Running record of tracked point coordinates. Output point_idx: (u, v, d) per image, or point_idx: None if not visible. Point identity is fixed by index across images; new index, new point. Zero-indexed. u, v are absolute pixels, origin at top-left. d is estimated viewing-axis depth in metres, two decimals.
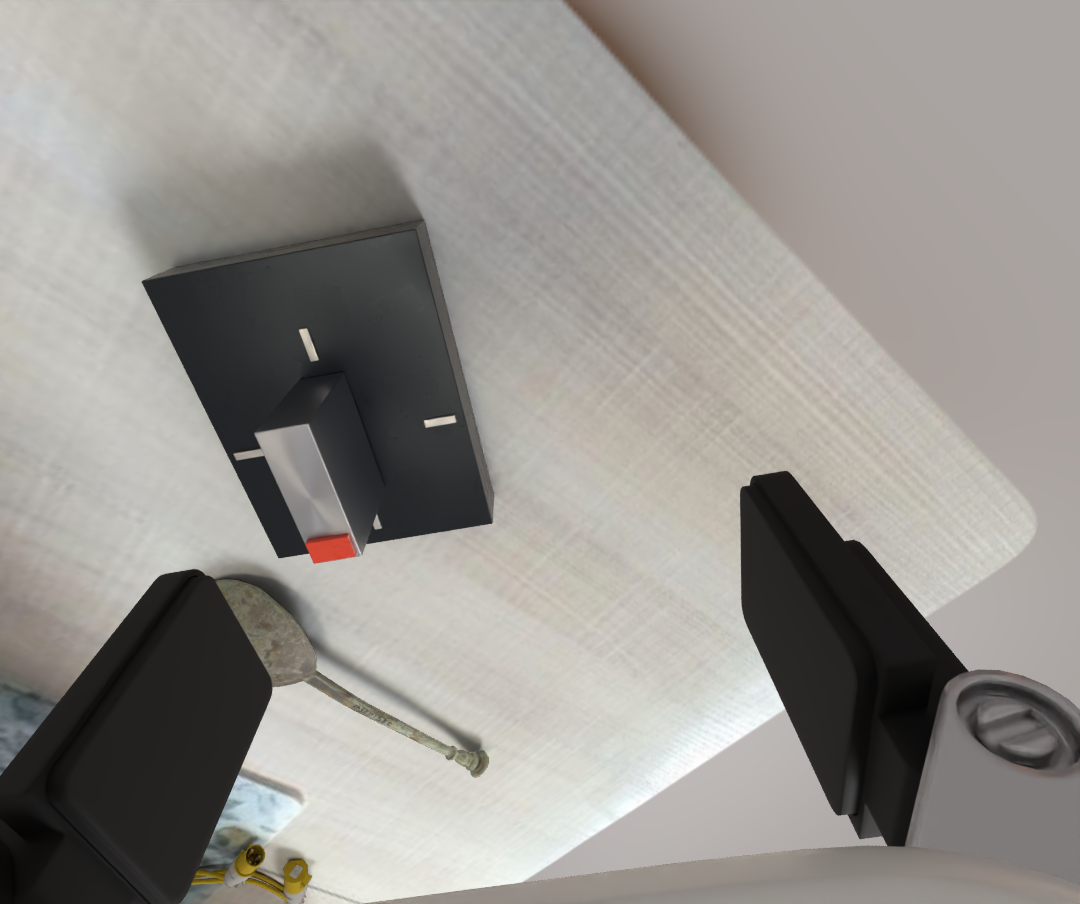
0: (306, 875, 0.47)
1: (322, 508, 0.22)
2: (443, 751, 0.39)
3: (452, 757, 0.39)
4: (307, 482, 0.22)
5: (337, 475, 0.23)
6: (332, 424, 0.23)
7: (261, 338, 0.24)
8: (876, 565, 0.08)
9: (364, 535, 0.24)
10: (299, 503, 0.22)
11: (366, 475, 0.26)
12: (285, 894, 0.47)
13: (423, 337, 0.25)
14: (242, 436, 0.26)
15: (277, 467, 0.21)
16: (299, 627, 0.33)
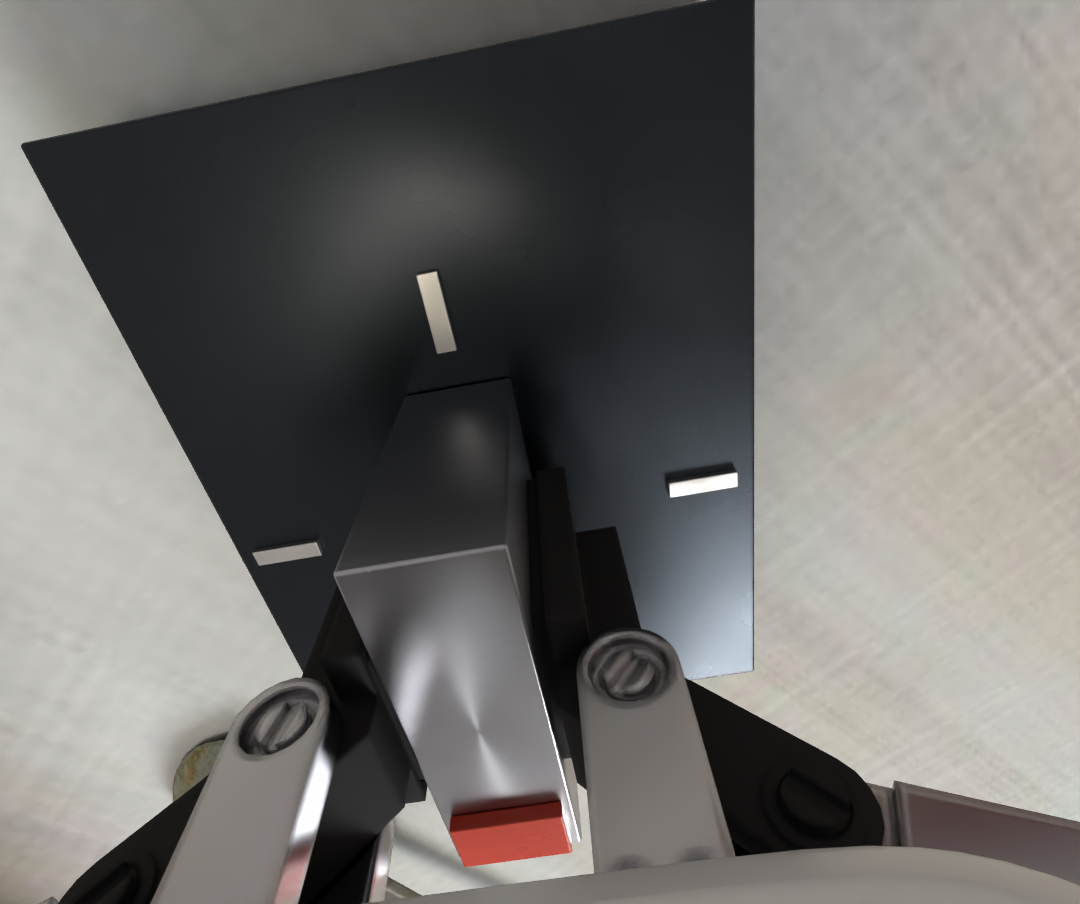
0: None
1: (504, 752, 0.08)
2: None
3: None
4: (474, 694, 0.08)
5: None
6: (522, 517, 0.09)
7: (324, 299, 0.10)
8: (620, 547, 0.10)
9: (574, 773, 0.10)
10: (444, 742, 0.08)
11: None
12: None
13: (707, 296, 0.10)
14: (271, 517, 0.12)
15: (395, 662, 0.07)
16: None
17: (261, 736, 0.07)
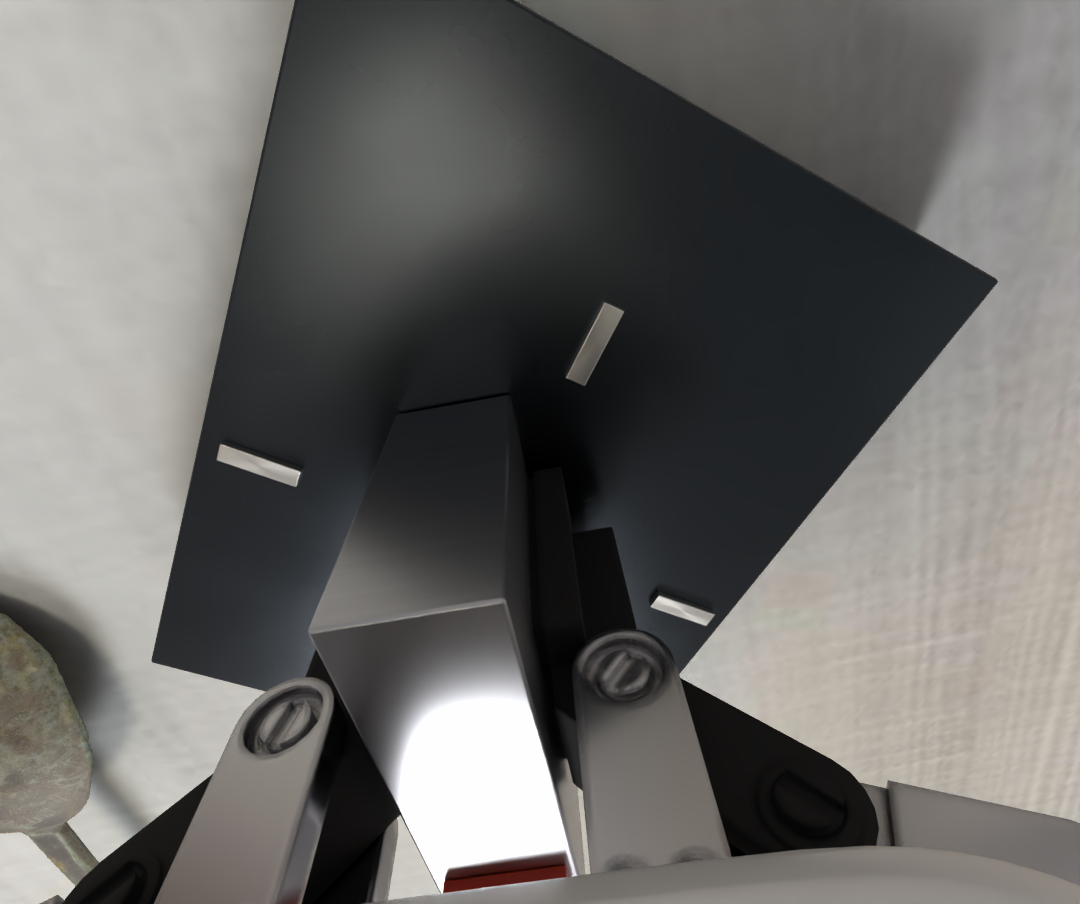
0: None
1: (503, 815, 0.07)
2: None
3: None
4: (468, 757, 0.07)
5: (546, 715, 0.07)
6: (522, 552, 0.08)
7: (502, 262, 0.09)
8: None
9: (579, 826, 0.09)
10: (436, 806, 0.07)
11: None
12: None
13: (799, 469, 0.11)
14: (269, 421, 0.10)
15: (380, 724, 0.06)
16: (88, 758, 0.16)
17: (265, 735, 0.07)
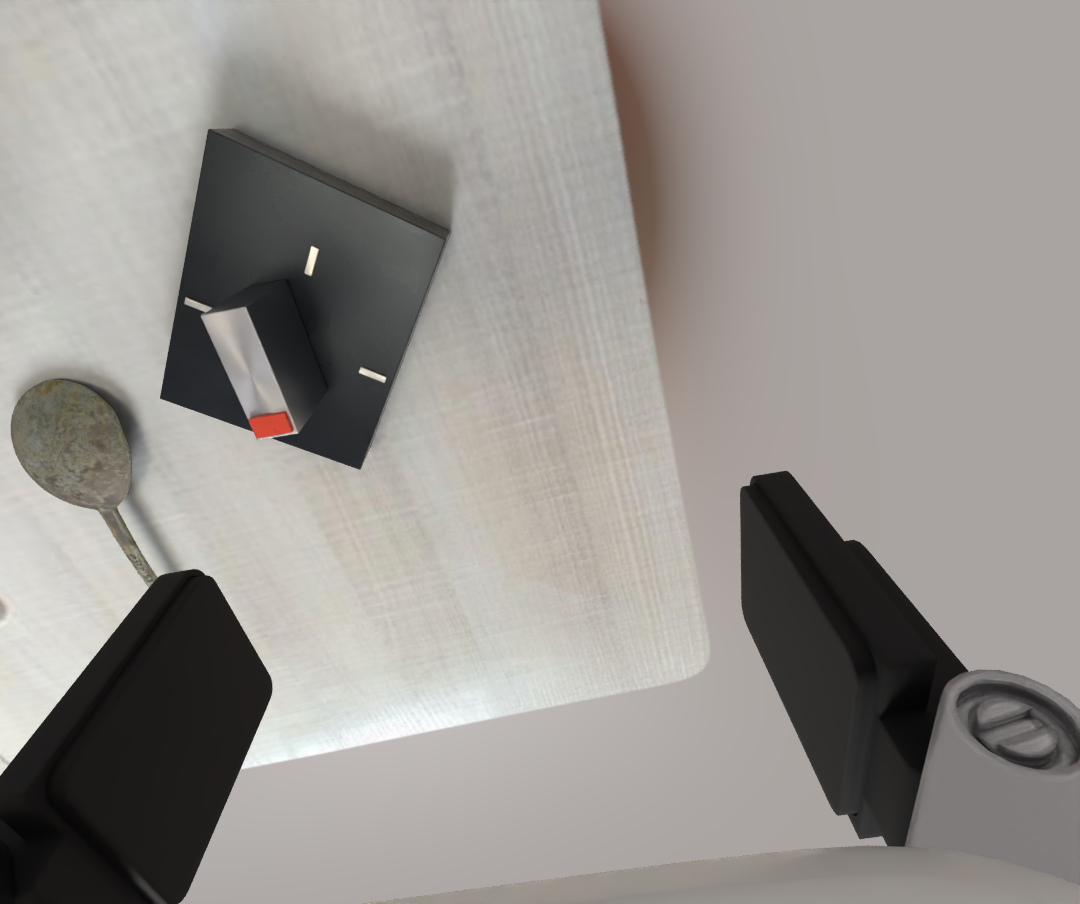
0: None
1: (261, 386, 0.26)
2: None
3: None
4: (247, 361, 0.26)
5: (274, 359, 0.26)
6: (272, 316, 0.27)
7: (276, 232, 0.28)
8: (876, 565, 0.08)
9: (302, 418, 0.28)
10: (242, 382, 0.26)
11: (306, 371, 0.29)
12: None
13: (401, 311, 0.30)
14: (202, 289, 0.29)
15: (221, 347, 0.25)
16: (130, 463, 0.34)
17: None
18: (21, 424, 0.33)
